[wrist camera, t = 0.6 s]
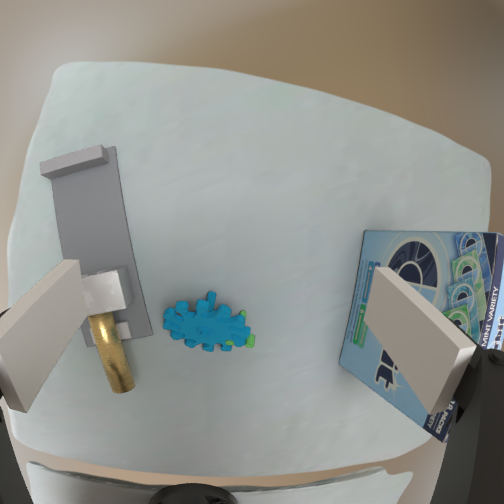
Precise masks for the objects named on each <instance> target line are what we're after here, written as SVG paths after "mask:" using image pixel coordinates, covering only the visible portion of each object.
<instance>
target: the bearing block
mask: <svg viewBox="0 0 504 504" xmlns="http://www.w3.org/2000/svg"><path fill="white" fill-rule="evenodd" d="M81 278H82V285H83V291H84V297H85V303H86V308H87V314H88V315H87V316H90V315H95V314H100V313H105V312H110V311H115V310H120V309H125V308H127V307H128V305H129V304H130V303H131V301H132V300H133V299H134V298H135V297H134V293H133V289H132V285H131V281H130V277H129V273H128V268H127V265H124V266H120V267H115V268H111V269H106V270H102V271H97V272H93V273H89V274H84V275H81Z"/></svg>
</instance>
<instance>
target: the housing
mask: <svg viewBox="0 0 504 504" xmlns="http://www.w3.org/2000/svg"><path fill="white" fill-rule="evenodd" d="M40 172H41V175H42V176H45V177H47V178H49V179H51V181H52V190H53V198H54V206H55V213H56V219H57V225H58V231H59V237H60V243H61V248H62V253H63V258H64V259H71V260H79V263H80V271H81V275H84V274H89V273H93V272H97V271H102V270H106V269H111V268H115V267H120V266H124V265H127V268H128V273H129V277H130V281H131V285H132V289H133V293H134V297H135V298H134V299H133V300H132V301H131V303H130V304H129V305H128V307H127V308H125V309H120V310H115V311H112V313H113V316H114V320H115V324H116V327H117V330H118V334H119V337H120V340H121V341H125V340H130V339H135V338H141V337H146V336H151V335H153V331H152V328H151V324H150V320H149V317H148V313H147V309H146V305H145V301H144V297H143V293H142V289H141V285H140V281H139V277H138V272H137V268H136V263H135V259H134V254H133V249H132V245H131V240H130V235H129V229H128V224H127V219H126V213H125V208H124V202H123V196H122V189H121V183H120V176H119V169H118V162H117V155H116V147H115V146H113V147H109V148H104V147H103V146H102V145H101V144H100V145H97V146H93V147H89V148H86V149H82V150H79V151H75V152H72V153H68V154H65V155H62V156H59V157H55V158H52V159H49V160H46V161H43V162H40ZM81 329H82V332H83V335H84V339H85V342H86V345H87V347H92V346H96V343H95V340H94V336H93V333H92V330H91V327H90V323H89V320H88V316H87V317H86V318H85V320H84V321H83V323H82V324H81Z"/></svg>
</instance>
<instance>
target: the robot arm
mask: <svg viewBox="0 0 504 504" xmlns="http://www.w3.org/2000/svg"><path fill="white" fill-rule="evenodd" d="M87 315H88V314H87V308H86V303H85V297H84V291H83V285H82V278H81V271H80V263H79V260H71V259H64V260H63V261H62V262H61V263H60V264H58V265H57V266H56V267H55V268H54V269H53V270H51V271H50V272H49V273H48V274H47V275H46V276H45V277H43V278H42V279H41V280H40V281H39V282H38V283H37V284H36V285H35V286H33V287H32V288H31V289H30V290H29V291H28V292H27V293H26V294H25V295H24V296H23V297H21V298H20V299H19V300H18V301H17V302H16V303H15V304H14V305H13V306H12V307H11V308H9V309H7V310H5V311H4V312H2V313H1V314H0V399H1V397H2V396H4V398H5V400H6V402H7V404H8V406H9V408H10V409H14V410H17V411H20V412H24V413H27V412H28V410H29V408H30V406H31V405H32V403H33V401H34V399H35V398H36V396H37V394H38V393H39V391H40V389H41V387H42V386H43V384H44V382H45V381H46V379H47V377H48V376H49V374H50V372H51V371H52V369H53V368H54V366H55V364H56V363H57V361H58V360H59V358H60V356H61V355H62V353H63V352H64V350H65V349H66V347H67V345H68V344H69V342H70V341H71V339H72V338H73V336H74V335H75V333H76V332H77V330H78V329H79V327H80V326H81V324H82V323H83V321H84V320H85V318H86V317H87ZM364 321H365V323H366V324H367V326H368V327H369V328H370V330H371V331H372V332H373V334H374V335H375V337H376V338H377V339H378V341H379V342H380V344H381V345H382V346H383V348H384V349H385V351H386V352H387V354H388V355H389V356H390V358H391V359H392V361H393V362H394V364H395V365H396V366H397V368H398V369H399V371H400V372H401V374H402V375H403V377H404V378H405V379H406V381H407V382H408V384H409V385H410V387H411V388H412V390H413V391H414V393H415V394H416V396H417V397H418V399H419V400H420V402H421V403H422V405H423V406H424V408H425V409H426V411H427V412H428V414H429V415H431V414H435V413H438V412H442V411H445V410H446V409H447V407H448V405H449V403H450V402H451V400H452V398H454V399H455V401H456V402H457V403H458V404H457V406H456V407H455V409H454V411H453V413H452V415H451V416H450V418H449V420H448V421H447V423H446V425H445V427H448V426H449V424H450V423H451V427H450V432H449V437H448V441H447V446H446V450H445V454H444V458H443V462H442V466H441V470H440V473H439V477H438V480H437V484H436V487H435V490H434V493H433V496H432V499H431V502H430V504H504V352H503V351H500V350H498V349H493V348H489V349H485V350H484V349H483V348H482V347H481V346H480V345H479V344H478V343H477V342H476V341H475V340H473V339H472V338H471V337H470V336H469V335H468V334H466V333H465V331H464V330H463V329H462V328H460V326H458V325H457V324H456V323H455V322H454V321H453V320H452V319H450V318H448V317H446V316H444V315H443V314H442V313H441V312H440V311H439V310H438V309H437V308H435V307H434V306H433V305H432V304H431V303H430V302H429V301H428V300H426V299H425V298H424V297H423V296H422V295H421V294H420V293H418V292H417V291H416V290H415V289H414V288H413V287H412V286H410V285H409V284H408V283H407V282H406V281H405V280H403V279H402V278H401V277H400V276H399V275H398V274H396V273H395V272H394V271H393V270H392V269H391V268H389V267H375V269H374V275H373V280H372V285H371V289H370V294H369V299H368V303H367V308H366V312H365V316H364ZM0 504H34V503H33V501H32V499H31V496H30V494H29V492H28V489H27V487H26V484H25V482H24V479H23V476H22V474H21V471H20V469H19V465H18V463H17V460H16V457H15V454H14V451H13V447H12V444H11V441H10V438H9V434H8V431H7V427H6V424H5V419H4V415H3V411H2V409H1V407H0ZM150 504H238V502H237V500H236V499H235V498H234V496H233V495H231V494H230V493H229V492H227V491H225V490H223V489H221V488H219V487H215V486H212V485H207V484H198V483H186V484H178V485H174V486H170V487H167V488H165V489H163V490H161V491H159V492H158V493H157V494H155V495H154V497H153V498H152V499H151V501H150Z"/></svg>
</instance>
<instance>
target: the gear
mask: <svg viewBox="0 0 504 504" xmlns="http://www.w3.org/2000/svg"><path fill="white" fill-rule="evenodd" d="M215 299H216V293H215V292H209V293H208V296H207V301H205V300H201V299H198V300H197V304H196V311H195V312H190V311H188V306H189V304H188V302H186V301H178V302H177V303H176V307H175V309H173V308H167V309H166V310H165V311H164V315H163V317H164V318H165V320H164V324H163V328H164V329H167V330H171V334H170V335H171V337H172V338H173V339H174V340H179V339H185V345H186V346H188V347H190V348H194V347H195V346H196V345H197V344H200V343H204V345H203V350H205V351H209V352H213V349H214V344H216V343H220V344H221V350H222V351H231V349H232V345H235V346H237V347H241V346H243V345H245V346H246V347H248V348H252V347H254V341H255V336H254V335H253V334H250V329H251V328H250V327H247V326H245V319H246V312H245V311H241V312H240V315H236V316H233V317H230V316H231V309H230V308H229V307H228V306H226V305H224V304H223V305H220V306H219V308H218V309H217V310H215V311H214V305H215ZM176 311H177V312H178V313H180V314H181V315H182V316H179V315H177V313H176ZM245 342H246V343H245Z"/></svg>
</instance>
